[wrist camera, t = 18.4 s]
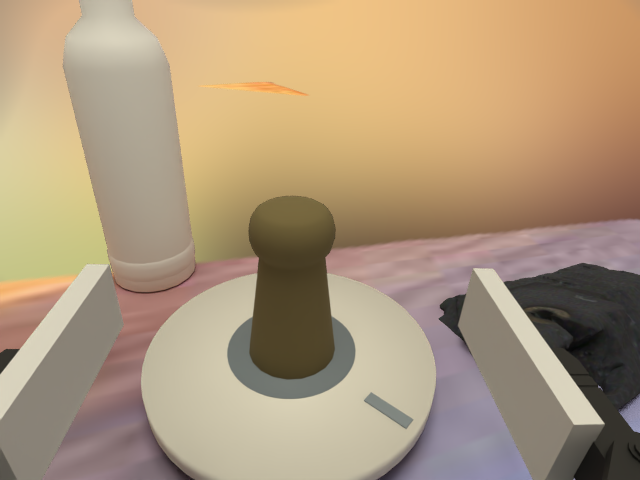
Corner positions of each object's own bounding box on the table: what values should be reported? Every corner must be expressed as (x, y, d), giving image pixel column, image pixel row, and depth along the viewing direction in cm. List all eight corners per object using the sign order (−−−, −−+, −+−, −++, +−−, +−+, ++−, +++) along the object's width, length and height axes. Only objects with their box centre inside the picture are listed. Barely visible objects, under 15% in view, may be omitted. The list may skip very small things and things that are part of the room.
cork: (352, 357, 29) (365, 212, 24) (274, 393, 26) (269, 238, 21) (306, 309, 34) (309, 178, 28) (235, 336, 31) (223, 196, 25)
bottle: (99, 271, 43) (-1, -106, 28) (168, 243, 48) (114, -87, 34) (141, 305, 38) (48, -122, 24) (212, 270, 44) (172, -97, 29)
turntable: (88, 370, 30) (83, 353, 29) (288, 259, 43) (288, 246, 42) (299, 601, 19) (300, 584, 18) (479, 356, 32) (484, 340, 31)
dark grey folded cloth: (738, 354, 36) (769, 310, 34) (563, 452, 28) (588, 402, 25) (576, 264, 48) (591, 227, 46) (419, 313, 40) (427, 270, 37)
